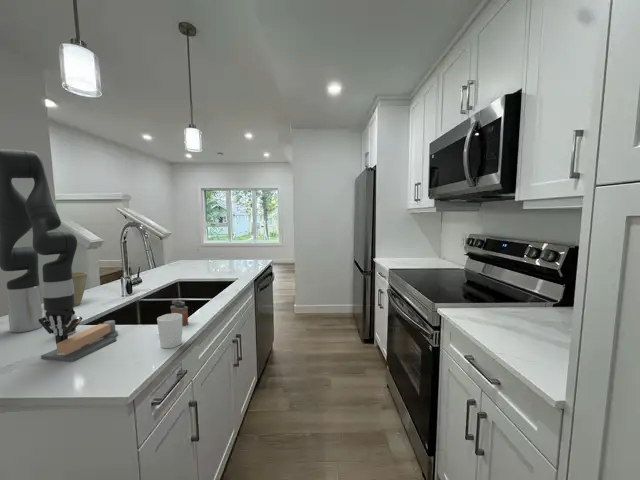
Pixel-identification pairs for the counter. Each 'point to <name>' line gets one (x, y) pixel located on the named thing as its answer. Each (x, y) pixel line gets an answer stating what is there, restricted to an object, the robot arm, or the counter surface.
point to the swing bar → (86, 337)
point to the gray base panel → (81, 349)
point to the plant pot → (79, 285)
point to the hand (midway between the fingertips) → (62, 345)
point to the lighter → (180, 311)
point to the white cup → (170, 330)
